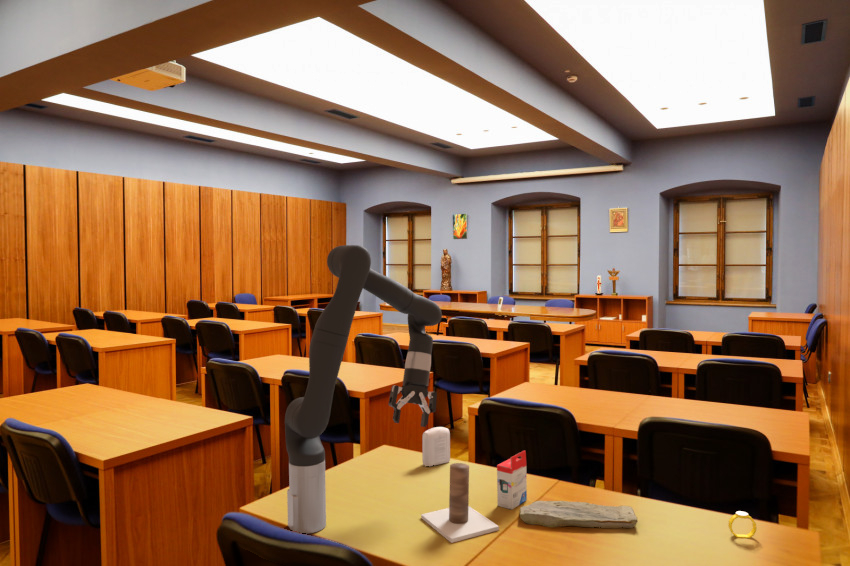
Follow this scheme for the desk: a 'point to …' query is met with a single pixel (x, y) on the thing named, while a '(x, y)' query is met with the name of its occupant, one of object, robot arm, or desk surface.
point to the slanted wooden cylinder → (459, 493)
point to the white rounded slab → (436, 446)
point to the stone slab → (577, 514)
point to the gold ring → (742, 515)
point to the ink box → (512, 481)
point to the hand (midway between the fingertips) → (409, 424)
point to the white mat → (459, 525)
